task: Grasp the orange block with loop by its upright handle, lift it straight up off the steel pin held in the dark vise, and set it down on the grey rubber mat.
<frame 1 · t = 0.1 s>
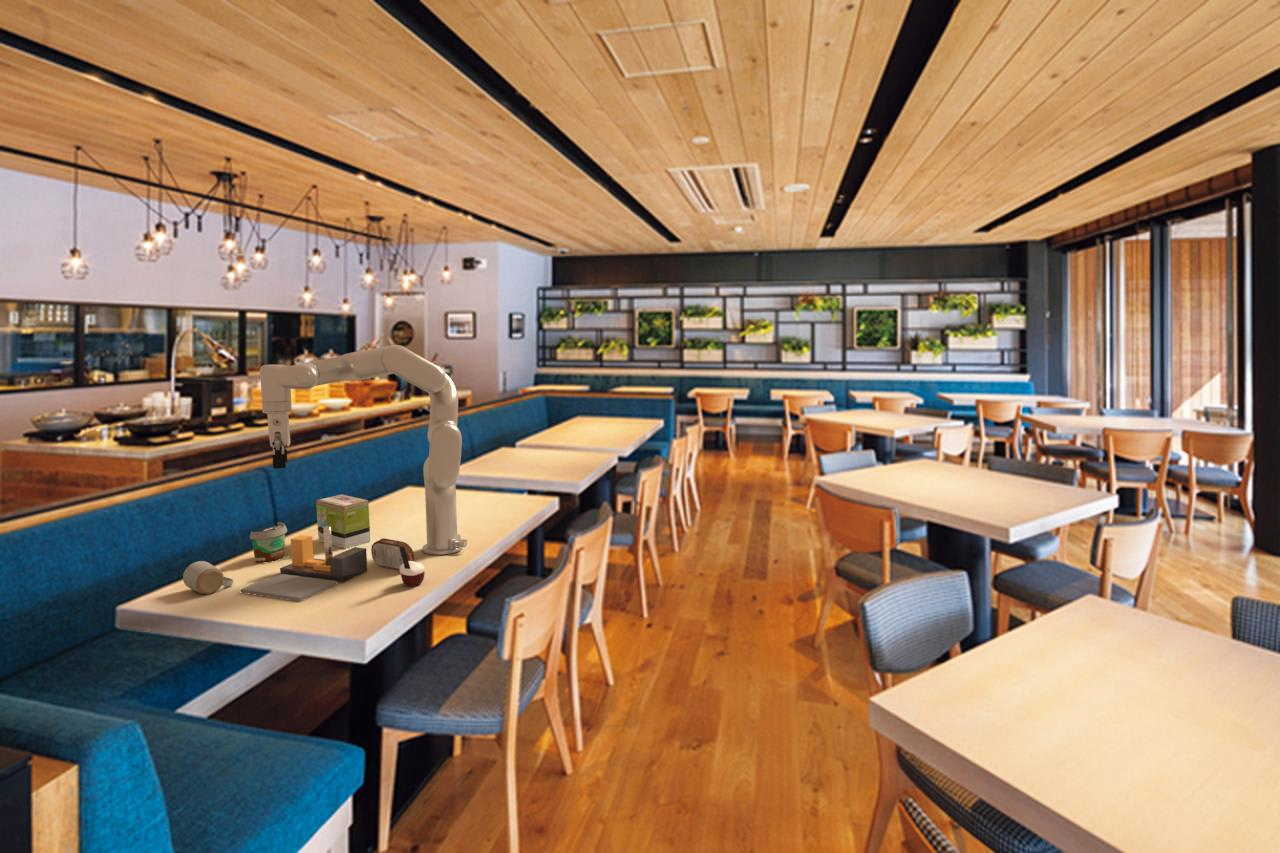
hand: (280, 465, 199), 31 cm above the table, tool pointing down, fingers open, 9 cm apart
tin: (392, 568, 203), on the table
cocoa: (412, 585, 189), on the table
rubber mat: (289, 588, 186), on the table
orange block with loop: (329, 567, 197), point 2 cm above the table, touching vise
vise: (329, 573, 198), on the table
tea box: (344, 542, 229), on the table
ceramic mug: (210, 590, 185), on the table
food container: (275, 559, 211), on the table
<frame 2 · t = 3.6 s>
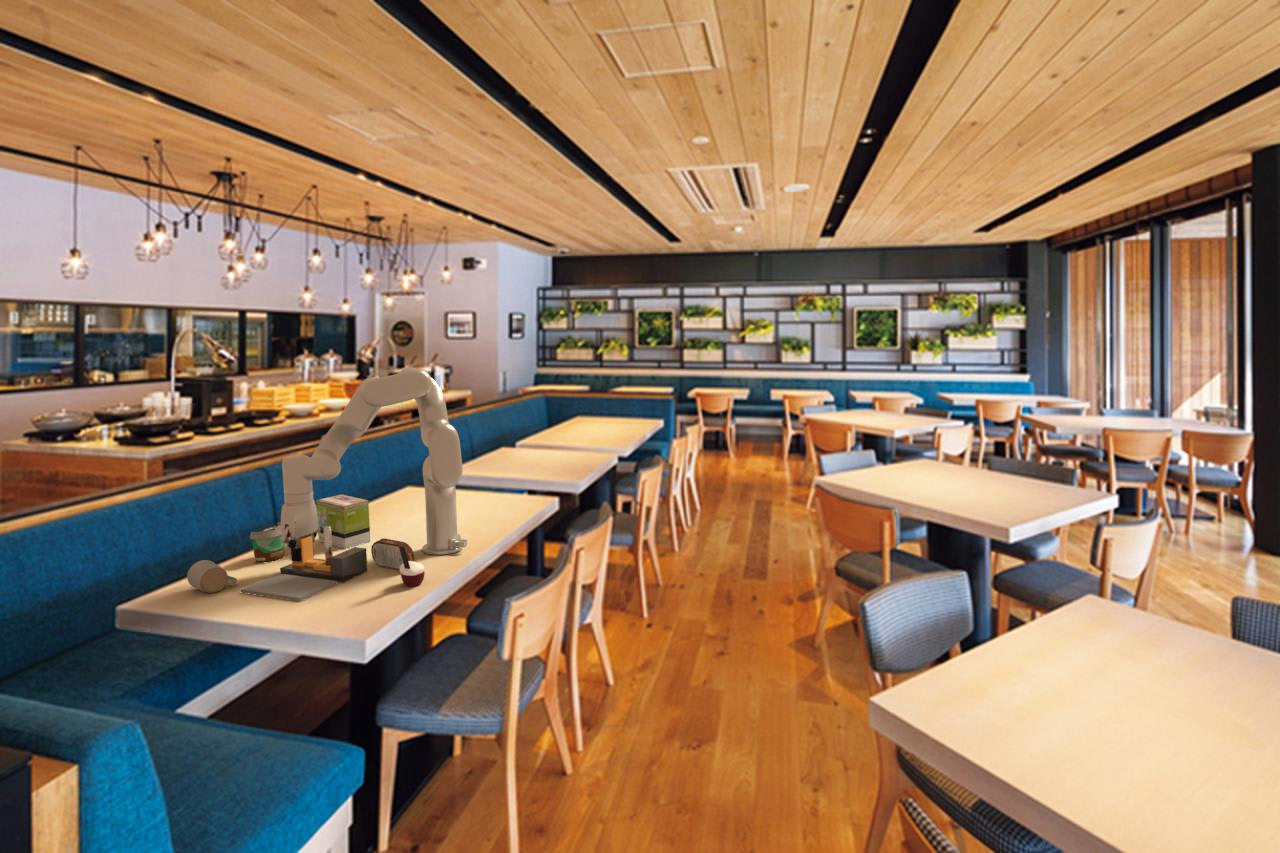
hand: (302, 557, 200), 4 cm above the table, tool pointing down, fingers closed on orange block with loop, 4 cm apart
orange block with loop: (329, 567, 197), point 2 cm above the table, touching gripper, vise
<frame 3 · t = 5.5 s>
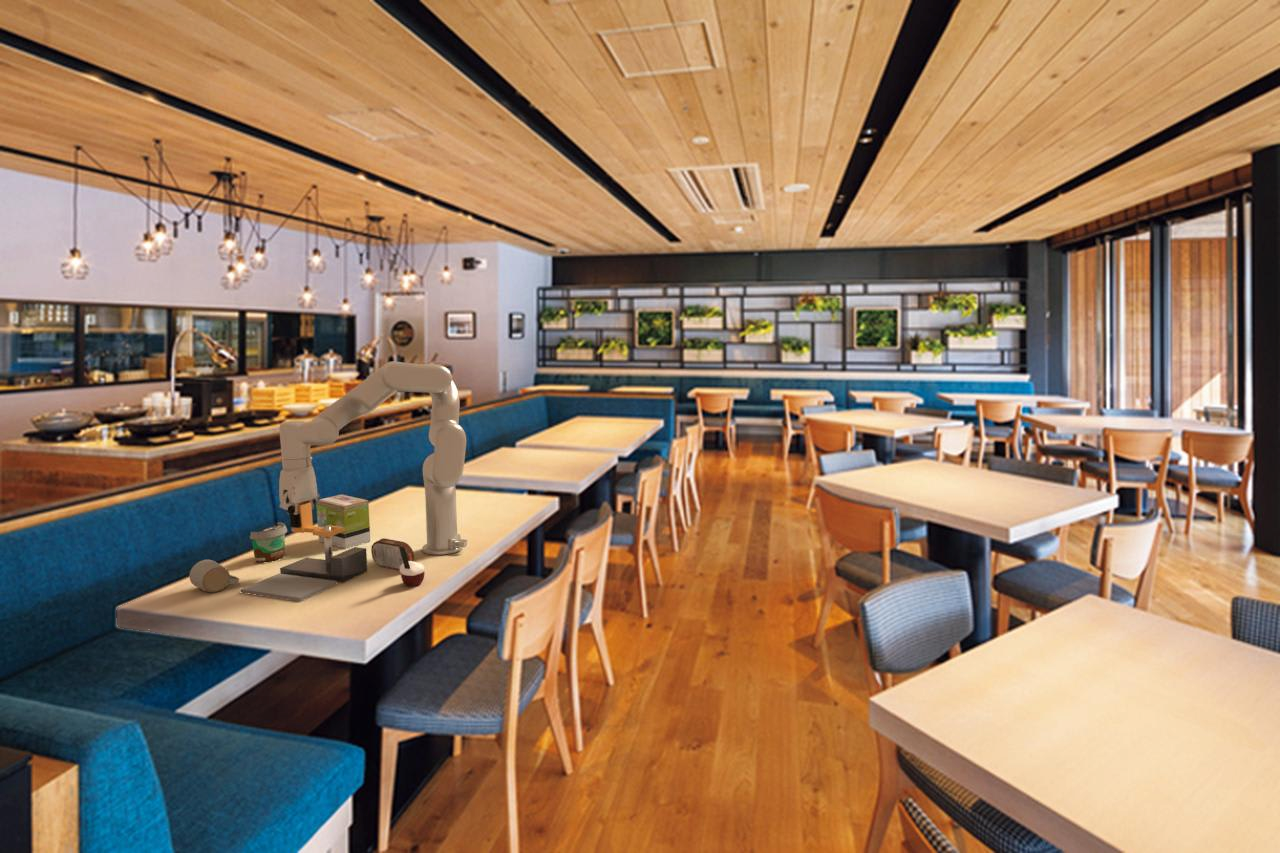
hand: (302, 524, 199), 14 cm above the table, tool pointing down, fingers closed on orange block with loop, 4 cm apart
orange block with loop: (329, 532, 196), point 12 cm above the table, touching gripper
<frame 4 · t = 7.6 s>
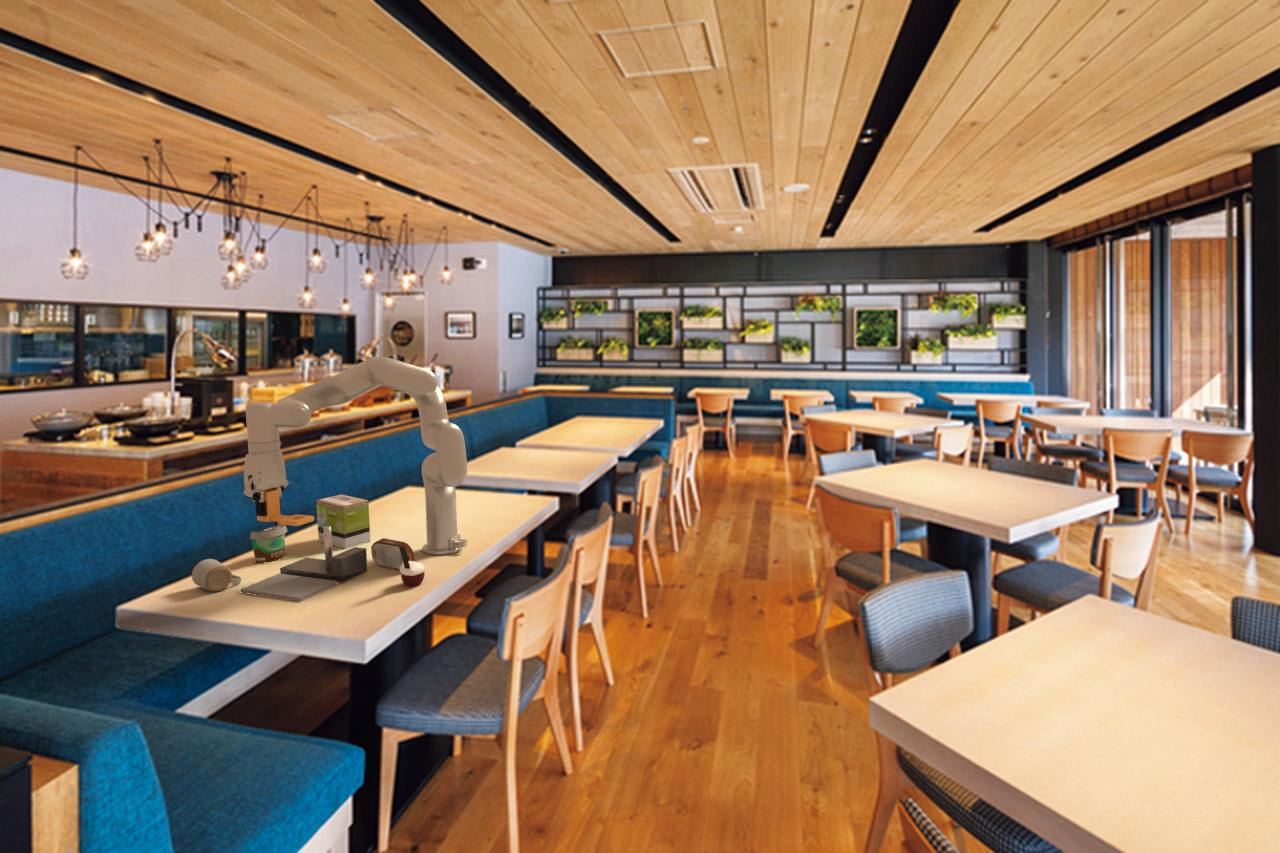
hand: (268, 512, 186), 21 cm above the table, tool pointing down, fingers closed on orange block with loop, 4 cm apart
orange block with loop: (296, 522, 183), point 19 cm above the table, touching gripper
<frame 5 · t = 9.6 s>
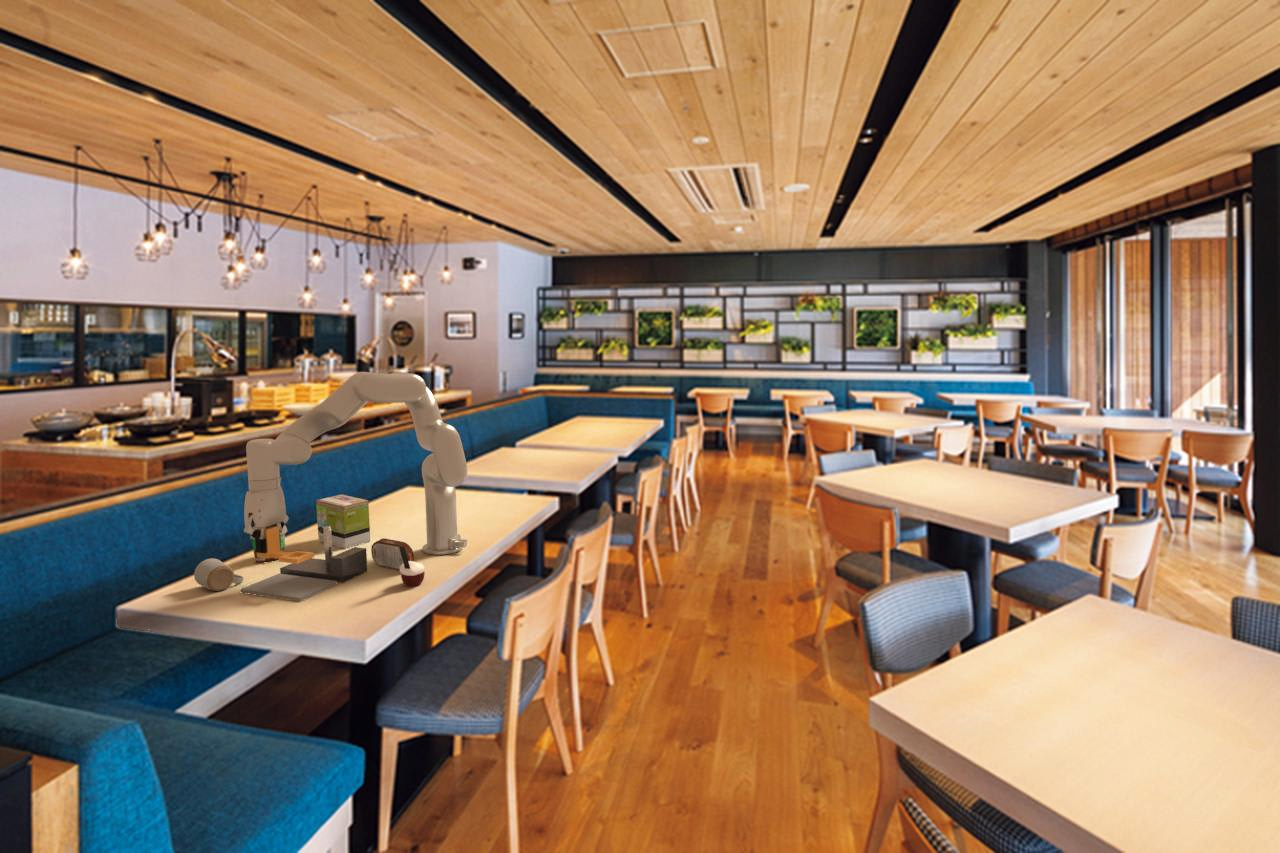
hand: (268, 549, 186), 11 cm above the table, tool pointing down, fingers closed on orange block with loop, 4 cm apart
orange block with loop: (296, 559, 184), point 9 cm above the table, touching gripper
when the fingers open (4 cm above the table, at t = 11.6 s): orange block with loop stays where it is, resting on rubber mat.
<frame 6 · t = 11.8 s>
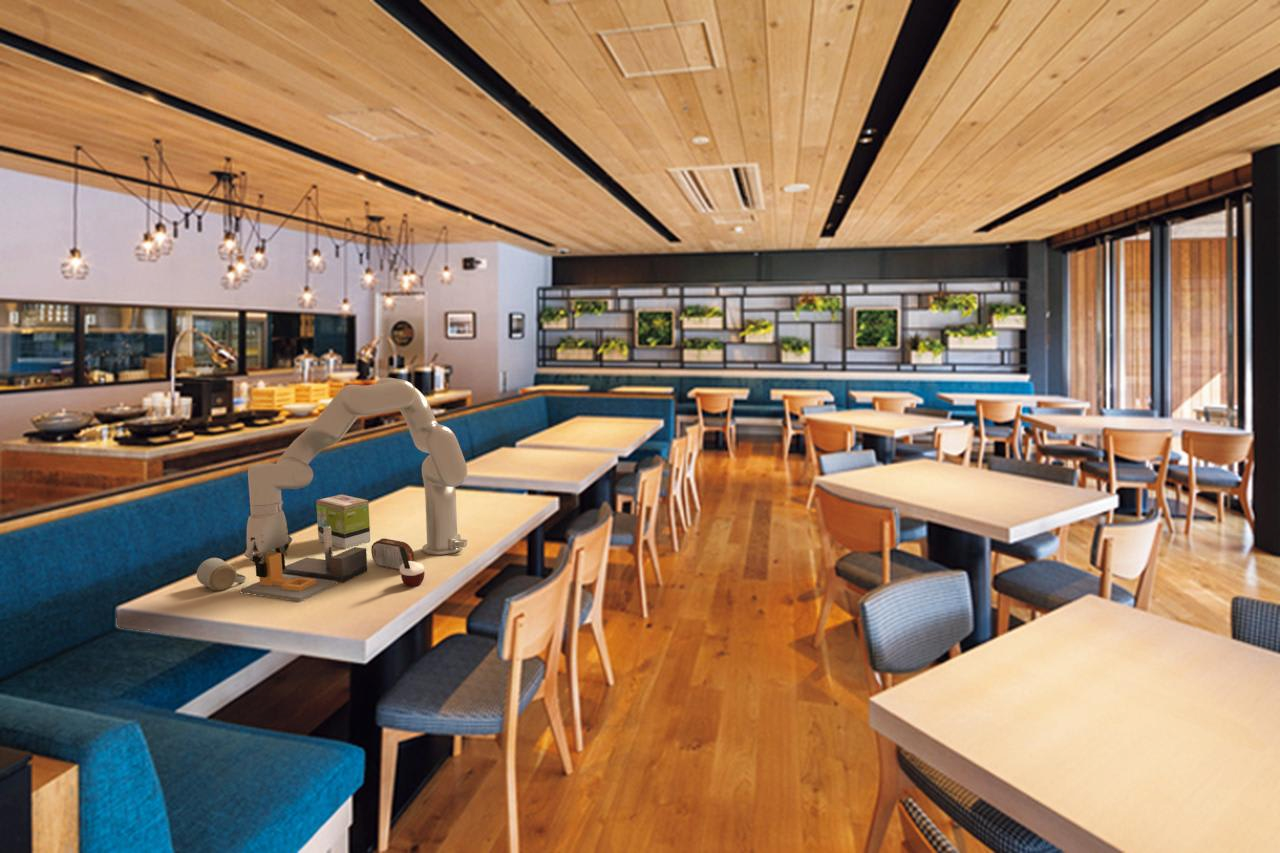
hand: (270, 572, 187), 4 cm above the table, tool pointing down, fingers open, 5 cm apart
orange block with loop: (299, 586, 185), point 1 cm above the table, touching rubber mat
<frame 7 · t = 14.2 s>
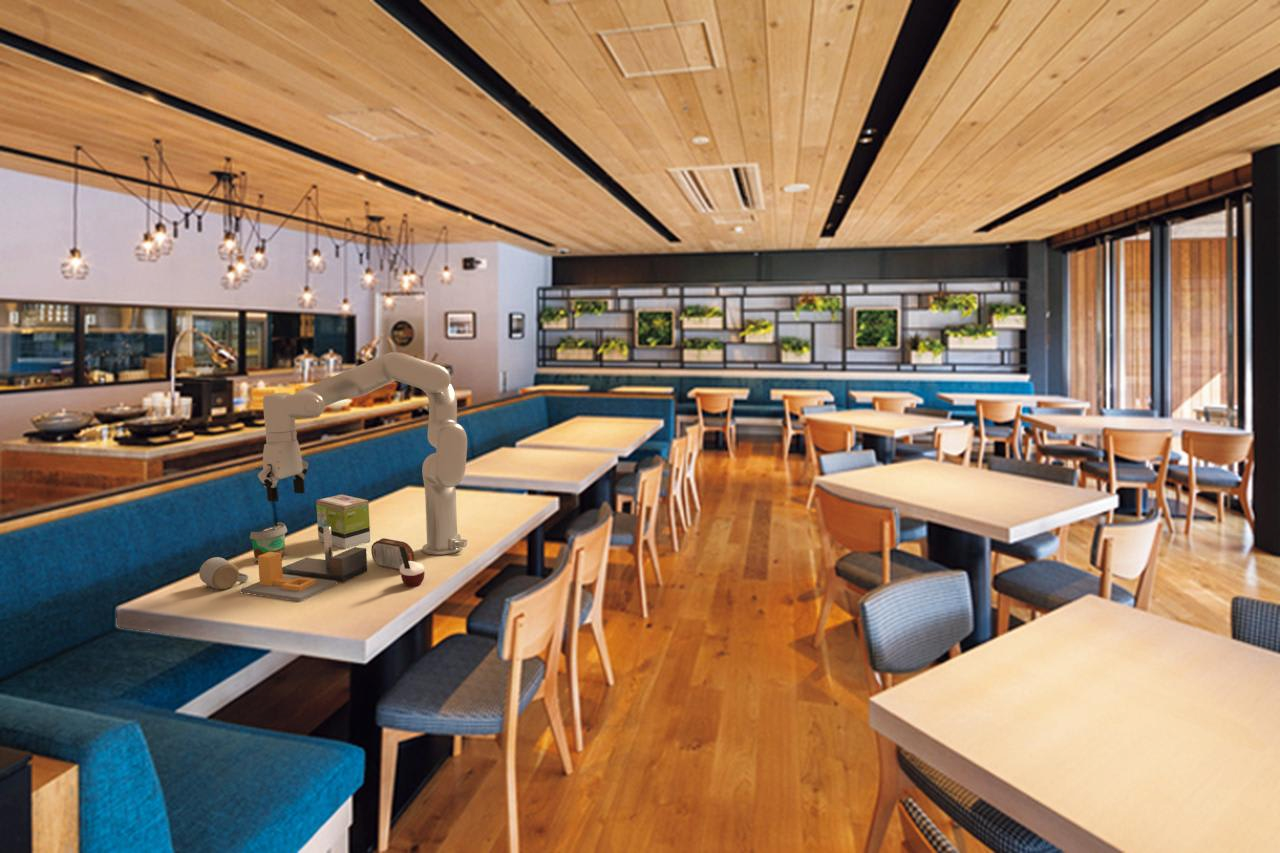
hand: (286, 496, 193), 23 cm above the table, tool pointing down, fingers open, 9 cm apart
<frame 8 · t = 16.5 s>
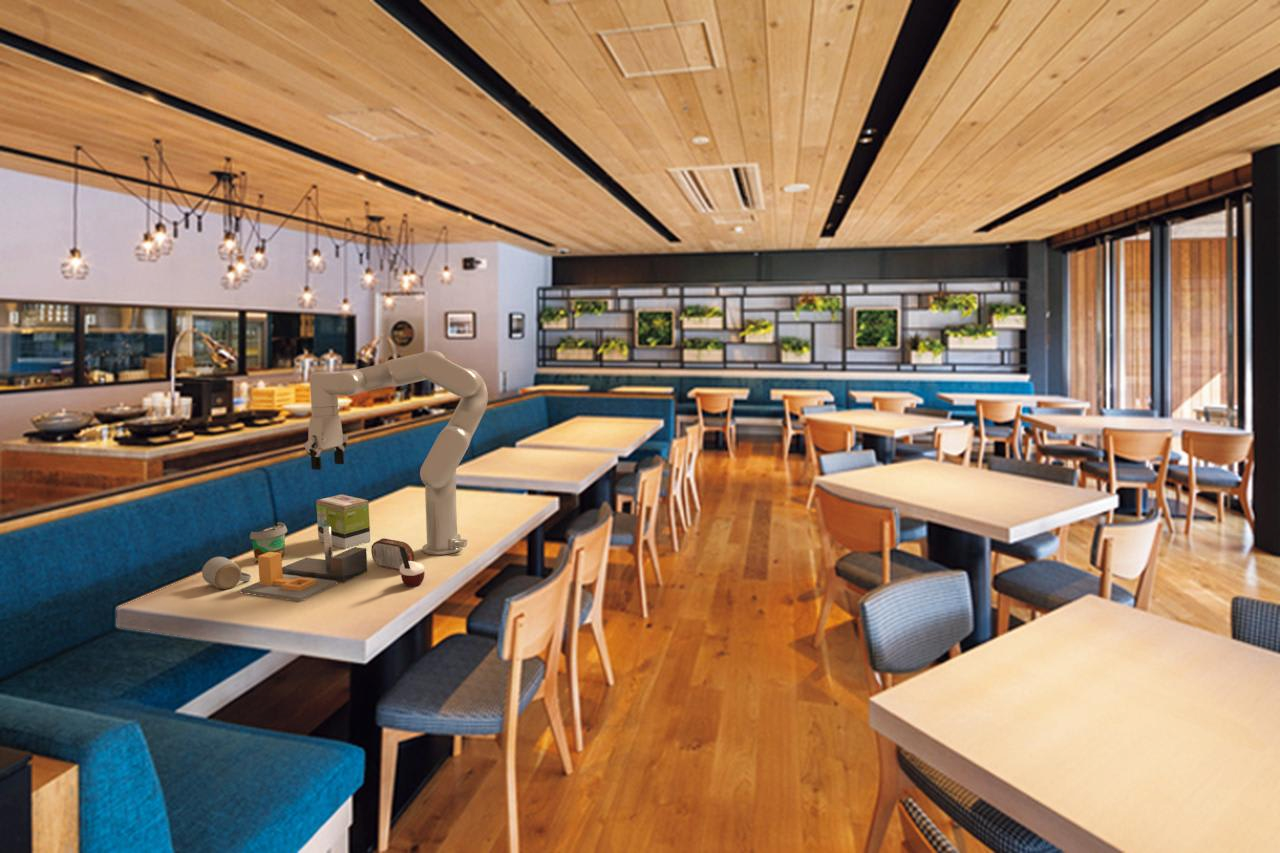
hand: (328, 466, 212), 28 cm above the table, tool pointing down, fingers open, 9 cm apart
at the end: orange block with loop inside the target area on the rubber mat (0.1 cm from its centre), point 1.0 cm above the rubber mat's base; orange block with loop tilted 0°; the gripper is holding nothing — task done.
